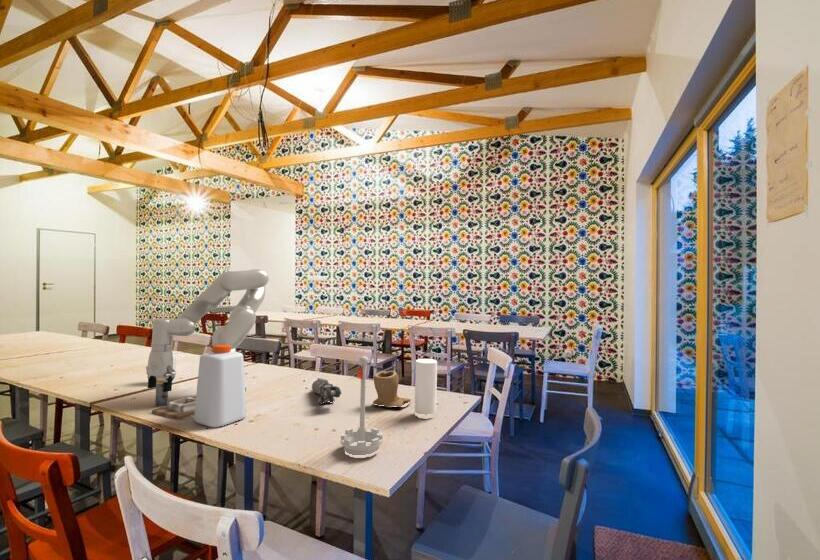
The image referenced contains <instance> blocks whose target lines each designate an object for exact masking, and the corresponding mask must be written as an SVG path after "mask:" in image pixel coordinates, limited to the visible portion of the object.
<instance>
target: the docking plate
mask: <svg viewBox="0 0 820 560" xmlns="http://www.w3.org/2000/svg"><path fill="white" fill-rule="evenodd" d="M195 403H196V397H195V398H194V397H189V396H188V397H186V396H185V397H181V398H179V399H178V398H177V399H175V400H172V401H168V405H167V406H163V407H157V408H155V409H152V410H151V414H154V415H158V416H161V417H165V416H166V418H170V417H171V418H170V419H174V418H175V420H178V419H179V420H178V421H180V419H181V420H184V419H186V417H187V418H190V417H192V416H191V415H193V416H194V413H195ZM189 416H190V417H189ZM183 418H184V419H183Z"/></svg>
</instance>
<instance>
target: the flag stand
mask: <svg viewBox="0 0 820 560" xmlns="http://www.w3.org/2000/svg"><path fill="white" fill-rule="evenodd" d="M358 362H359V364H360V368H359V371H358V373H357V374H356V377H357V378H359V379H360V396H359V397H360V400H359V402H360V406H359V426H358V429H357V430H356V429H355V430H354V429H353V428H352V427H350V428H347V429H345V430H344V432H342V433H341V434H340V444H341V446H343V451H344V450H345V451H346V452H347V453H349V454H352V455H366V454H371V453H373V452H375V451H377V450H378V449H379V450H380V446H382V444H383V437H384V436H383V435H384V434H383V432H380V429H378V428H376V427H372V428H371V430H369V429H367V426H365V425H366V379H367V378H366V377H367V364H369V358H368V356H366V355H363V356H360V358H359V360H358ZM354 442H357V445H355V444H352V443H354ZM366 442H371V443H372V444H367V445H366Z"/></svg>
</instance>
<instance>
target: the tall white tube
mask: <svg viewBox="0 0 820 560" xmlns="http://www.w3.org/2000/svg"><path fill="white" fill-rule="evenodd" d="M429 329H430V330H433V328H431V325H430V326H429ZM431 332H432V333H433V336H435V335H436V333H435V331H431ZM432 350H433V348H429V349H427V350H426V351H425V352H423V353H421V354H420V357H424V356H426V354H428V353H429V352H431V351H432ZM414 374H415V378H414V379H415V381H414V382H415V383H414V384H415V385H414V386H415V387H414V413H415V412H416V413H418V414H425V415H427V414H433V413H435V412H436V413H437V389H438V388H437V385H438V361H437V360H436V359H434V358H433V359H432V358H418V359H416V360H415V373H414Z"/></svg>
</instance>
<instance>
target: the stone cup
mask: <svg viewBox="0 0 820 560" xmlns="http://www.w3.org/2000/svg"><path fill="white" fill-rule="evenodd" d="M373 384H374V388H375V391H376V394H377V398H376V399H374V400H373V401H372V404H373V405H374V404H377V405H384V406H397V407H401V406H402V405H404V404H405V403H408V402H410V401H411V398H405V397H399V396H398V388H399V375H398V373H397V372H396V371H394V370H388V371H385V370H383V371H379V372H376V373H375V374H374V376H373ZM410 403H411V402H410Z"/></svg>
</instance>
